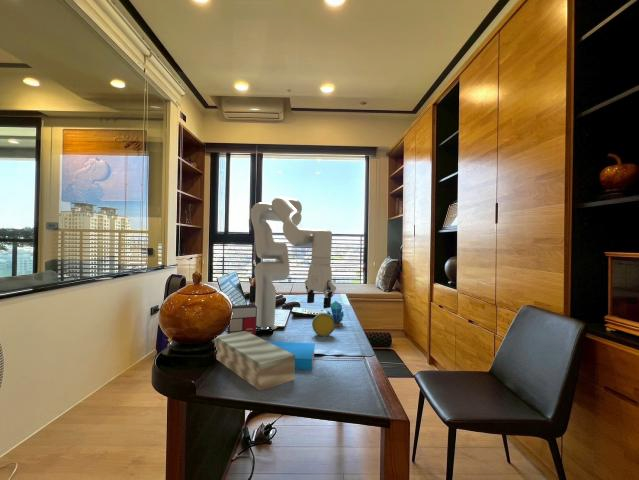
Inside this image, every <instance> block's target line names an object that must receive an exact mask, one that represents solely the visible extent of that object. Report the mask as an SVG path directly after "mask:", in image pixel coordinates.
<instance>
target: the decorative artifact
mask: <svg viewBox="0 0 639 480" xmlns="http://www.w3.org/2000/svg"><path fill="white" fill-rule="evenodd" d="M311 322H312V323H311V325H312V330H313V332H314V333H315V335H317V336H320V337H328V336H330V335H332V333H333V332H334V330H335V328H336V327H335V322H334V320H333V318H332V317H331V315H329V314H327V312H320V313H318V314H316V315H315V316H314V317H313V319H312V321H311Z"/></svg>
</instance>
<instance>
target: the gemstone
mask: <svg viewBox="0 0 639 480" xmlns="http://www.w3.org/2000/svg"><path fill="white" fill-rule="evenodd" d="M330 311H331V312H330ZM330 311H329V310H327V311H326V313H327V314H329V315H331V317H332V318H333V320H334V322H335V328H339V327H338V326H341V327H342V326H343V325H344V323H343V318H344V315H345V314H344V311H343V306H342V304H341V303H340V302H338V301H337V300H335V301H333V302H331V307H330Z"/></svg>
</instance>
